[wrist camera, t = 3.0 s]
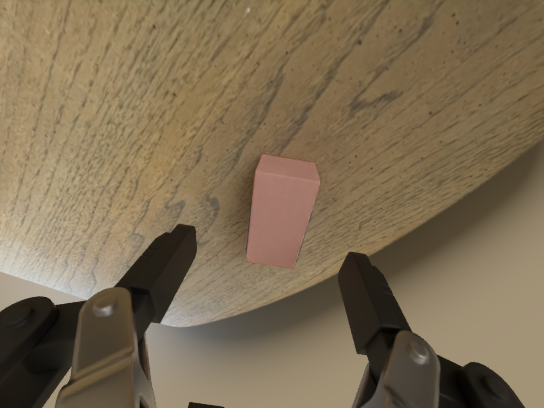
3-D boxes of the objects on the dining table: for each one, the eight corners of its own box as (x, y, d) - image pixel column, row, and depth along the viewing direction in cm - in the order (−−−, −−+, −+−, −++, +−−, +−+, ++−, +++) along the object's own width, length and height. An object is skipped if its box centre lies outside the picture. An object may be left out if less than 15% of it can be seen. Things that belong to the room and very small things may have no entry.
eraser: (315, 162, 13) (322, 182, 10) (293, 241, 16) (294, 270, 14) (261, 153, 13) (254, 170, 10) (251, 234, 16) (244, 262, 14)
